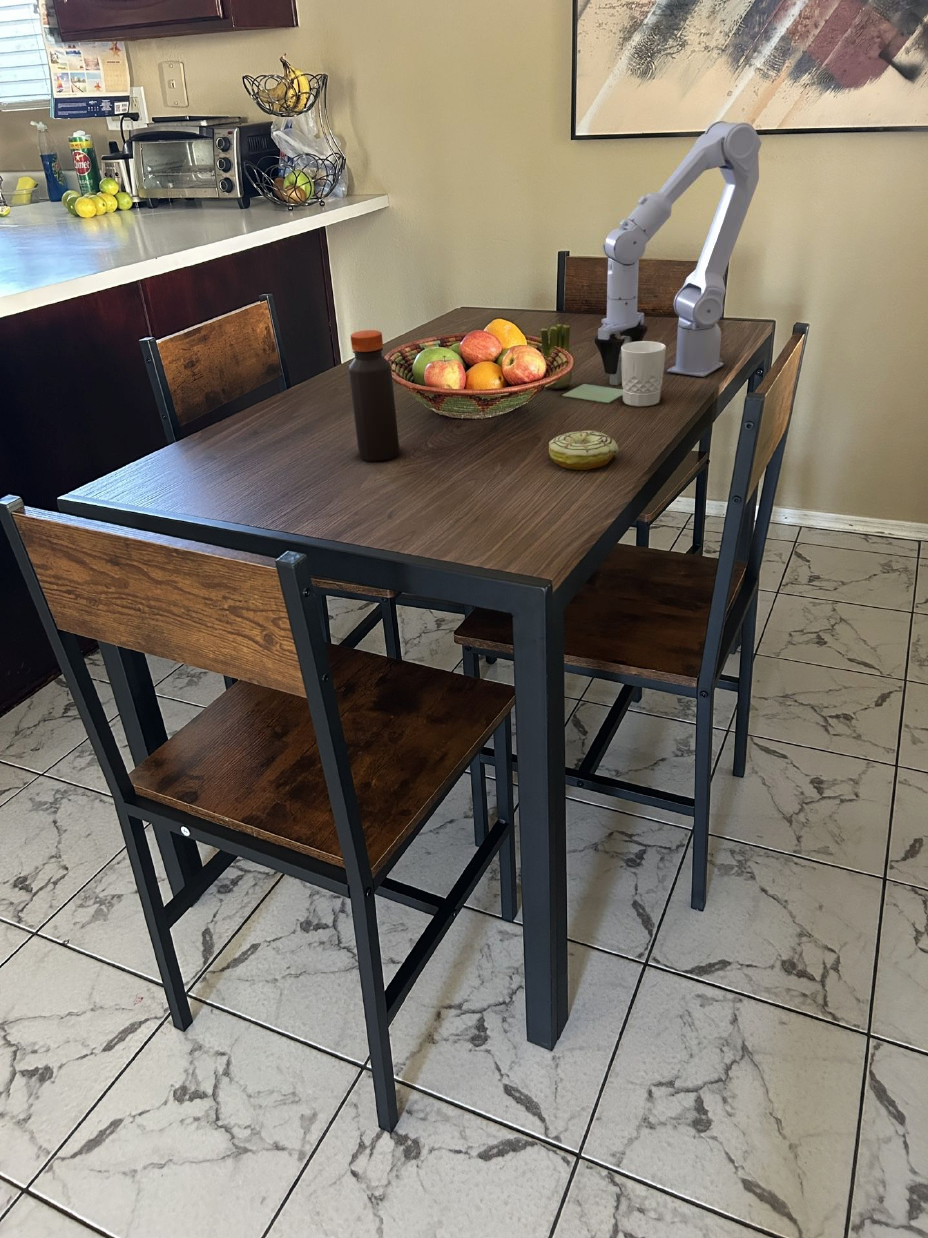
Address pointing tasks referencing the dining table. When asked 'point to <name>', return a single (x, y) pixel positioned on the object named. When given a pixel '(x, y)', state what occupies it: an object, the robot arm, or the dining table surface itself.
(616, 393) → the sticky note
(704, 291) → the robot arm
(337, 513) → the dining table surface
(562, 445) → the decorated donut
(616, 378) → the lighter
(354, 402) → the bottle
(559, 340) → the fennel bulb
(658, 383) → the white cup
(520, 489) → the dining table surface
